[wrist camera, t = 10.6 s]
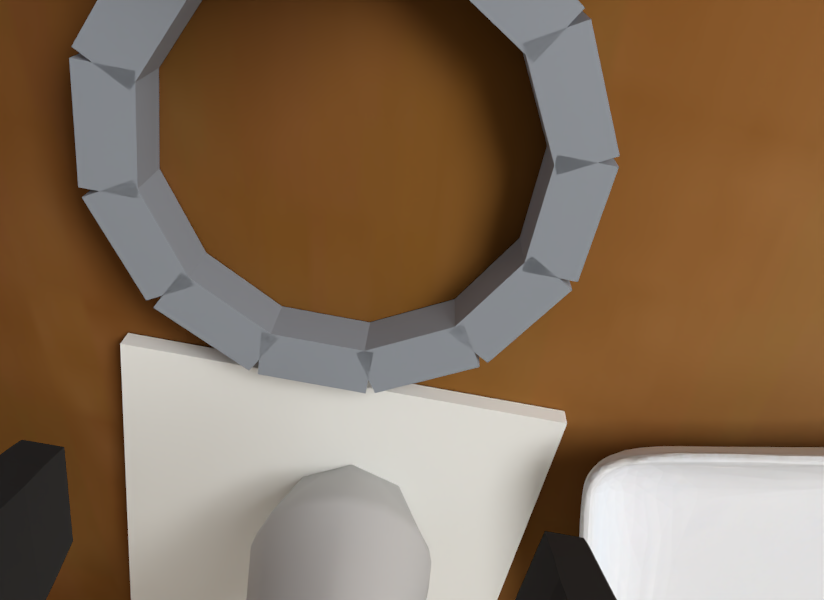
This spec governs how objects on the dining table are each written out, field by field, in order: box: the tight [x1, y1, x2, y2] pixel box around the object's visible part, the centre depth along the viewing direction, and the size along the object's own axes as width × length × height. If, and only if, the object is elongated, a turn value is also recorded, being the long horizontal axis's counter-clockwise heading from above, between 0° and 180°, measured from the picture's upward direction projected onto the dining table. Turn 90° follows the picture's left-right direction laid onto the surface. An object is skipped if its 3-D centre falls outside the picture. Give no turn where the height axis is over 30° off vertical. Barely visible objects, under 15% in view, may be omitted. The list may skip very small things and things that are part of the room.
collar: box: [69, 0, 620, 393], centre depth 17 cm, size 13×13×2 cm
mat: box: [120, 333, 567, 600], centre depth 25 cm, size 14×14×1 cm
